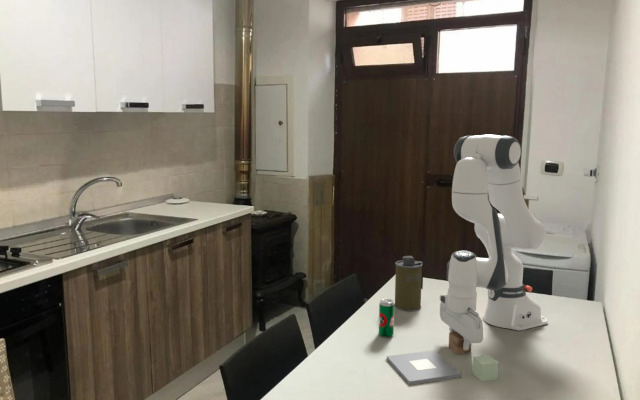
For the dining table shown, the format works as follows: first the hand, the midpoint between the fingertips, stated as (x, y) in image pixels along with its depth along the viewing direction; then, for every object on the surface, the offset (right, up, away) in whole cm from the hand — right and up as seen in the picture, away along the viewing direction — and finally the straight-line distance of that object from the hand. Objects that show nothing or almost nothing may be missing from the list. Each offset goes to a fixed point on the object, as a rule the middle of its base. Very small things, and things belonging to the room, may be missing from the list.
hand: (459, 344), depth 164 cm
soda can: (-22, 0, +12) cm, 25 cm away
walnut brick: (0, -2, 0) cm, 2 cm away
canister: (-10, +4, +39) cm, 40 cm away
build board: (-14, -3, -12) cm, 19 cm away
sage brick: (+3, -4, -16) cm, 17 cm away
